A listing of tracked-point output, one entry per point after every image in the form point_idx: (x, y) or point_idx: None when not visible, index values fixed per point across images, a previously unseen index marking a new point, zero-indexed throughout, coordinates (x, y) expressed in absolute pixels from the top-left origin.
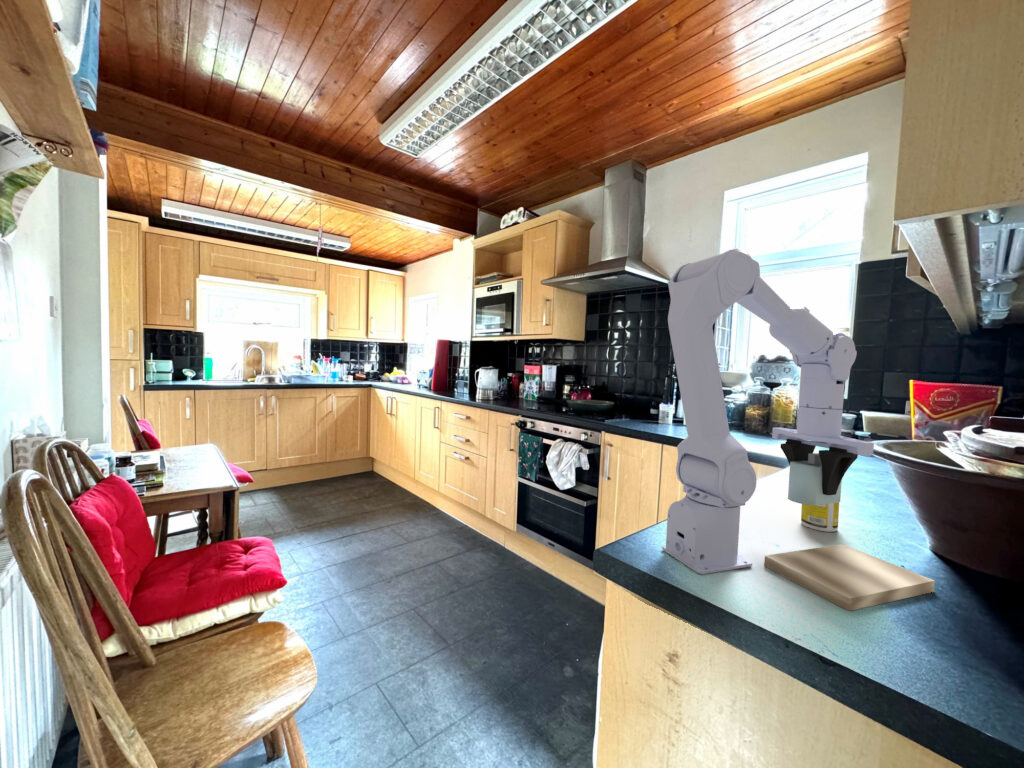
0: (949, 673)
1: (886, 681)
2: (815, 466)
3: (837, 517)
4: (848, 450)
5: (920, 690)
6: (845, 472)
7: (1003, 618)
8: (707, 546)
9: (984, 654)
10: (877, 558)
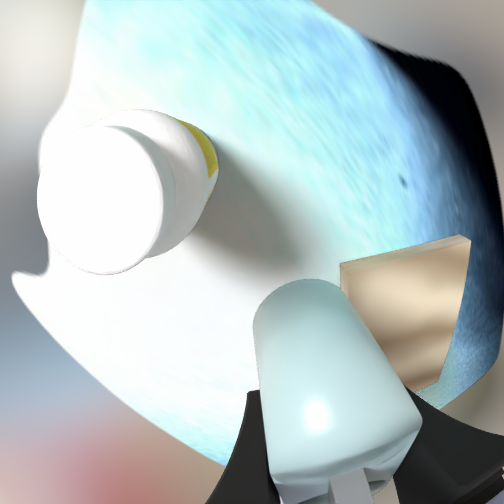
0: (482, 352)
1: (462, 390)
2: (374, 488)
3: (211, 146)
4: (493, 493)
5: (473, 378)
6: (441, 412)
7: (498, 215)
8: None
9: (495, 308)
10: (410, 259)
